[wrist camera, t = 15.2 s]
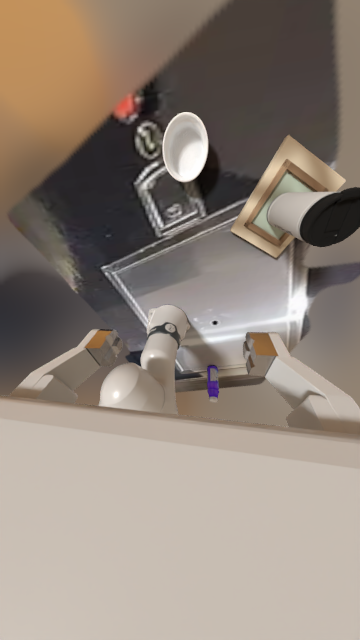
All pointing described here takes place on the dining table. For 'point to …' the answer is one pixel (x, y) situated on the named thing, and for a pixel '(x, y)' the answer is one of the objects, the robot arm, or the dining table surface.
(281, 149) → the board
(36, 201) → the dining table surface
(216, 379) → the bottle
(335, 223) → the travel mug
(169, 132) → the ramekin
